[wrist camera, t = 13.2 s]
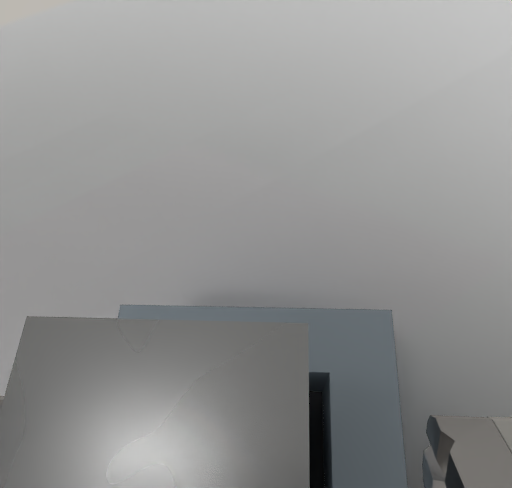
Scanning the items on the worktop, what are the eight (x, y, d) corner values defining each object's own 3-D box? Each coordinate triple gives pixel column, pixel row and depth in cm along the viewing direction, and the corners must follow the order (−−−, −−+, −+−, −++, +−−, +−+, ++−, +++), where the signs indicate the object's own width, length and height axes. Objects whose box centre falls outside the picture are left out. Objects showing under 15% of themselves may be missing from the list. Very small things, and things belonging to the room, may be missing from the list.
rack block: (386, 613, 14) (425, 690, 10) (127, 589, 15) (54, 650, 11) (369, 343, 18) (391, 310, 14) (162, 338, 19) (120, 304, 15)
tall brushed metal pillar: (297, 505, 16) (311, 740, 3) (212, 500, 16) (-80, 694, 4) (298, 413, 17) (308, 323, 5) (219, 409, 17) (26, 316, 5)
